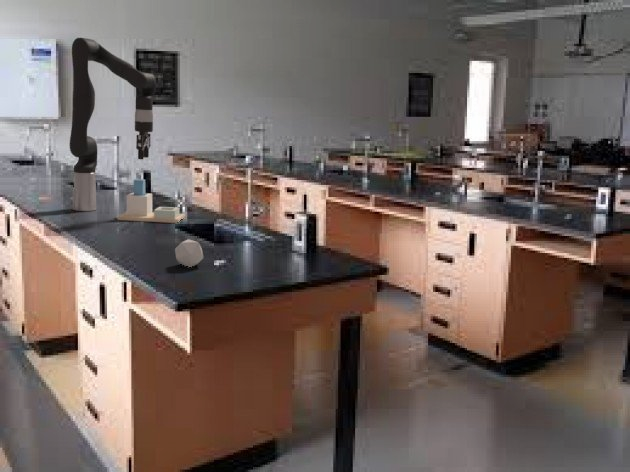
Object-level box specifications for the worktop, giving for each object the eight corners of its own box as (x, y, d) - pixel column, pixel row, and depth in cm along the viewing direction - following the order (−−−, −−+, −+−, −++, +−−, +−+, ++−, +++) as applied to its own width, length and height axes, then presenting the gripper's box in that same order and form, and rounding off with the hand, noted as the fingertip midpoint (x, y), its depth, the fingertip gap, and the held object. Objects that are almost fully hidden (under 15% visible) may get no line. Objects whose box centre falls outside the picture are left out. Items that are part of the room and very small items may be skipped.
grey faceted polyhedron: (183, 262, 210) (167, 241, 204) (207, 250, 210) (192, 228, 204) (185, 278, 203) (169, 256, 197) (210, 265, 203) (195, 243, 197)
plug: (133, 202, 278) (133, 180, 276) (136, 201, 282) (136, 179, 280) (142, 203, 278) (142, 180, 276) (145, 202, 282) (145, 179, 279)
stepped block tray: (117, 219, 272) (117, 196, 270) (127, 214, 286) (127, 192, 284) (178, 223, 272) (178, 199, 270) (185, 217, 286) (185, 195, 284)
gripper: (139, 119, 281) (139, 156, 284) (130, 120, 267) (130, 159, 270) (156, 120, 281) (155, 157, 284) (148, 121, 267) (147, 160, 270)
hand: (143, 158), depth 277 cm, fingers open, 8 cm apart
